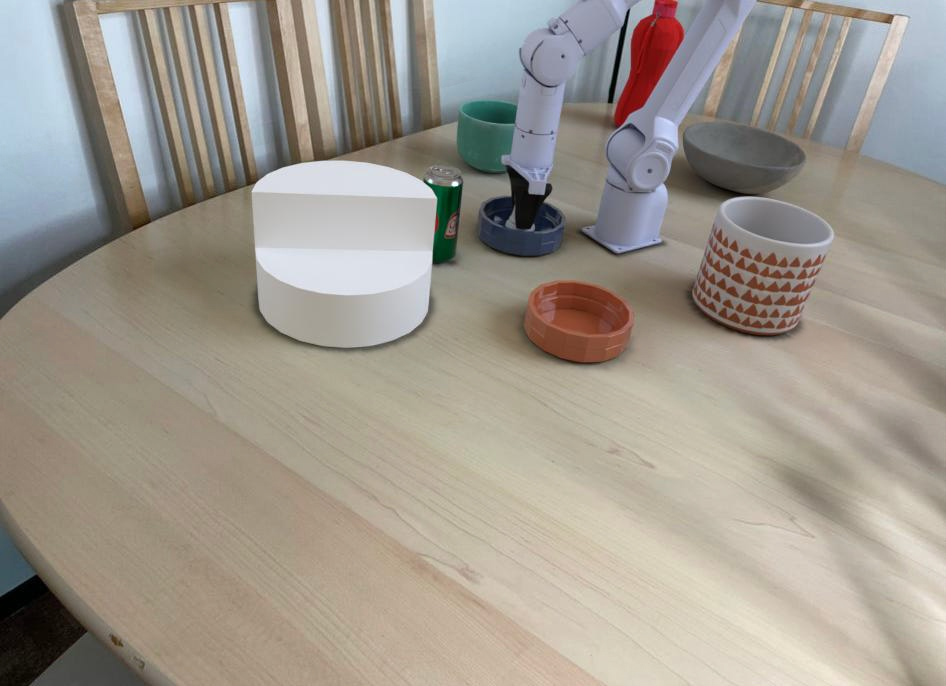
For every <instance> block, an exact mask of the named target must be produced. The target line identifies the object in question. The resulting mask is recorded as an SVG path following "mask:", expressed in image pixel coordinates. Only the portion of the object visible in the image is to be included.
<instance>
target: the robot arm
mask: <svg viewBox="0 0 946 686" xmlns="http://www.w3.org/2000/svg"><path fill="white" fill-rule="evenodd" d="M639 2H642V0H577V1H576V2H575V3H573V5H571V6H570V7H568V9H566V10H565V11H564V12H562V14H560V15H559V16H558V17H556V18H555V17H551V18H550V19H549V20H548V21H547V22H546V24H547V26H548V27H542V28H536V29H535V30H533V31H532V32H530V33H529V34H528V35H526V37H525V39H524V41H523V42H524V43H523V44H522V45H521V47H519V48H518V57H519V58H518V59H519V62H520V63H521V65H522V67H523V69H522V75H521V76H522V77H521V83H520V88H519V93H518V99H517V100H518V101H517V105H518V107H517V114H516V121H515V128H514V135H513V142H512V149H511V154H510V155H502V157H501V161H502V164H504V165H506V169H507V171H506V172H507V174H508V179H509V184H510V196H511V202H512V213H513V210H514V206H515V223H516V228H518V229H531V227H532V225H533V223H534V221H535V218H536V216H537V214H538V211H539V209H540V207H541V205H542V204H543V202H546V201H545V200H546V199H547V198H548V197H549V196H550V195H551V194H552V192H553V185H552V183H549V182H547V179H548V177H549V176H550V174H551V173H552V170H553V168H554V160H553V159H554V154H555V149H556V148H555V147H556V143H557V137H558V133H559V125H560V120H561V114H562V109H563V108H562V107H563V104H564V103H563V101H564V96H565V95H564V94H565V88H566V83H567V81H570V80H571V79H572V78H573V77H574V75H575V73H576V71H577V69H578V64H579V62H580V61H581V60H582V59H584V57H586V56H587V55H589V54H590V53H591V52H593V51H594V50H595V49H596V48H598V47H599V46H600V45H602V43H604V42H605V41H606V40H607V39H610V37H611V36H613V34H615V33H616V32H618V31H619V30H620V29H622V27H623V26H624V24H625V19H626V16H627V12H628V10H630V9H631V8H633V7H634V6H635V5H637V4H638V3H639ZM756 2H757V0H705V2H704V4H703V6H702V7H701V9H700V11H699V12H698V14H697V16H696V18H695V19H694V20H693V23H692V24H691V26H690V27H689V29H688V30H687V33H686V34H685V35H684V39H683V41H682V43H681V44H680V46H679V48H678V49H677V51H676V53H675V55H674V56H673V58H672V60H671V61H670V63H669V65H668V66H667V68H666V70H665V71H664V73H663V75H662V76H661V78H660V80H659V82H658V83H657V85H656V87H655V88H654V90H653V92H652V93H651V95H650V97H649V98H648V100H647V102H646V103H645V105H644V107H643V108H641V109H639V110H637V111H635V112H633V113H631V114H630V115H629V116H628V118H627V119H626V121H625V122H624V124H623V125H622V126H621V127H620V128H619V127H617V129H615V130H614V131H613V132H612V133H611V134H610V135H609V137H608V138H607V140H606V142H605V146H604V154H605V158H606V160H607V161H608V164H609V166H608V170H607V172H606V175H605V180H604V184H603V190H602V193H601V199H600V203H599V207H598V211H597V217H596V222H595V224H594V225H593V224H592V225H589V226H584V227H582V228H581V232H582V233H583V234H585V235H586V236H588V237H590V238H591V239H593V240H594V241H595V242H598V243H599V244H600V245H602V246H603V247H604V248H606V249H608V250H610V251H611V252H613V253H615V254H616V255H617V254H622V253H626V252H631V251H635V250H638V249H641V248H645V247H650V246H654V245H658V244H662V243H663V242H662V241H663V239H662V238H660V237H659V235H660V231H661V227H662V224H663V220H664V217H665V213H666V210H667V207H668V202H669V201H668V200H669V196H668V189H667V187H666V185H665V184H664V182H665V181H666V180H667V179H668V177H669V175H670V172H671V169H672V168H671V167H672V161H673V159H674V157H675V155H676V153H677V151H678V150H679V127H680V125H681V123H682V122H683V120H684V118H685V117H686V115H687V114H688V112H689V110H690V109H691V107H692V105H693V104H694V102H695V101H696V99H697V98H698V96H699V94H700V93H701V91H702V89H703V88H704V86H705V84H706V83H707V82H708V80H709V78H710V76H711V75H712V73H713V72H714V70H715V69H716V67H717V65H718V64H719V62H720V61H721V59H722V58H723V56H724V54H725V53H726V51H727V49H728V48H729V46H730V45H731V44H732V42H733V40H734V38H735V36H736V35H737V34H738V32H739V30H740V29H741V26H742V25H743V24H744V22H745V20H746V19H747V17H748V16H749V14H750V12H751V11H752V9H753V8H754V6H755V5H756ZM514 198H515V199H514Z"/></svg>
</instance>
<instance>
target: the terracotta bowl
mask: <svg viewBox="0 0 946 686" xmlns="http://www.w3.org/2000/svg"><path fill="white" fill-rule="evenodd" d="M634 323H635V311H634V310H633V309H632V307H631V306H630V304H629V302H628V301H627V300H626V299H625V298H623V297H622V296H620V295H619V294H617V293H616V292H614V291H613V290H611V289H608V288H606V287H603V286H601V285H598V284H595V283H592V282H586V281H580V280H574V279H573V280H571V279H568V280H567V279H565V280H553V281H548V282H545V283H542V284H539V285H538V286H537V287H535V288H534V289H533V290H532V291H530V293H529V296H528V300H527V306H526V312H525V317H524V323H523V328H524V331H525V333H526V335H527V337H528V339H529V340H530V341H532V343H534V344H535V345H536V346H537V347H538V348H540V349H541V350H542V351H544V352H547V353H549V354H551V355H552V356H556V357H557V358H560V359H563V360H567V361H573V362H578V363H601V362H606V361H608V360H611V359H615V358H618V357H620V355H621V354H622V353H623V352H624V351H625V350H626V349H627V348H628V345H629V342H630V337H631V334H632V331H633V328H634Z"/></svg>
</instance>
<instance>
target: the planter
mask: <svg viewBox="0 0 946 686" xmlns="http://www.w3.org/2000/svg"><path fill="white" fill-rule="evenodd" d="M834 239H835V232H834V229H833V228H832V226H831V225H830V224H829V223H828V222H827V221H826V220H824V219H823V218H822V217H820V216H819V215H817V214H816V213H814V212H812V211H810V210H808V209H805V208H803V207H801V206H798V205H795V204H793V203H790V202H786V201H782V200H778V199H773V198H768V197H761V196H736V197H732V198H728V199H726V200H724V201H723V202H721V204H720V205H719V206H718V209H717V212H716V215H715V218H714V220H713V224H712V228H711V230H710V234H709V237H708V240H707V242H706V243H707V244H706V245H705V249H704V253H703V256H702V258H701V262H700V266H699V268H698V272H697V274H696V278H695V281H694V284H693V286H692V291H691V297H692V300H693V302H694V304H695V306H696V307H697V308H698V309H699V311H700V312H701V313H703V314H704V315H705V316H706V317H708V318H709V319H711V320H713V321H714V322H715V323H718V324H720V325H722V326H724V327H726V328H729V329H731V330H734V331H737V332H741V333H745V334H748V335H749V334H750V335H757V336H778V335H783V334H786V333H788V332H790V331H792V330H794V329H795V328H796V327H797V326H798V324H799V321H800V319H801V317H802V314H803V313H804V309H805V307H806V305H807V303H808V300H809V298H810V296H811V294H812V291H813V289H814V286H815V284H816V281H817V280H818V276H819V275H820V273H821V269H822V268H823V265H824V263H825V261H826V258H827V256H828V253H829V251H830V249H831V247H832V244H833V242H834Z"/></svg>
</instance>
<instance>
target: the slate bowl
mask: <svg viewBox="0 0 946 686" xmlns="http://www.w3.org/2000/svg"><path fill="white" fill-rule="evenodd" d="M477 215H478V216H477V224H476V233H477V235H478V237H479V239H480V240H481V241H483V243H484V244H486V245H487V246H489V247H491V248H493V250H494V249H495V250H497V251H500V252H502V253H505V254H509V255H514V256H519V257H536V256H542V255H546V254H550V253H553V252H555V251H556V250H557V249H559V248H560V247H561V245H562V241H563V236H564V230H565V226H566V221H567V218H566V216H565V214H564V213H563V211H562V210H561V209H560V208H558V207H556V206H554V205H553V204H552V203H550V202H547V201H544V202H543V204H542V205H541V207H540V209H539V211H538V214H537V216H536V218H535V221H534V225H535V230H534V231H520V230H515V229H509V228H507V227H506V226H505V224H506V221H507V220H508V219H509V217H510V216H511V215H512V202H511V195H500V196H495V197H494V196H493V197H490V198H488V199H487V200H484V201H482V203H481V204H480V207H479V209H478V214H477Z"/></svg>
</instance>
